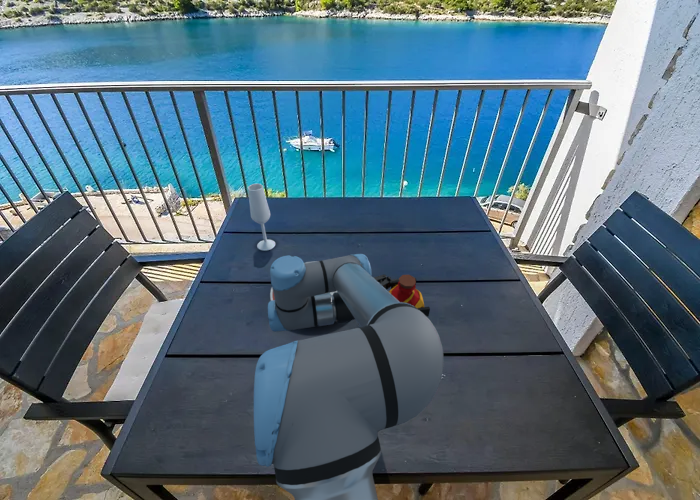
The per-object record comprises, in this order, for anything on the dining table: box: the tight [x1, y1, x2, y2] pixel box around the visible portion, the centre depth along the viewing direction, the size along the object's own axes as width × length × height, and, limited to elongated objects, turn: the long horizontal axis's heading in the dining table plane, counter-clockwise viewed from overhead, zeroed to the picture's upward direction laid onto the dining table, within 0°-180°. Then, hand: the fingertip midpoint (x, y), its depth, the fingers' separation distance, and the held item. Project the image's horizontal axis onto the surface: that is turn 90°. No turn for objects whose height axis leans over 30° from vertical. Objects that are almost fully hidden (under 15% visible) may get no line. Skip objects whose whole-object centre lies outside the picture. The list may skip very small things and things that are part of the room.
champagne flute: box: [247, 183, 276, 252], centre depth 121 cm, size 7×7×24 cm
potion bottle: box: [387, 274, 425, 308], centre depth 88 cm, size 10×10×15 cm
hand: (421, 296), depth 88 cm, fingers closed on potion bottle, 9 cm apart
